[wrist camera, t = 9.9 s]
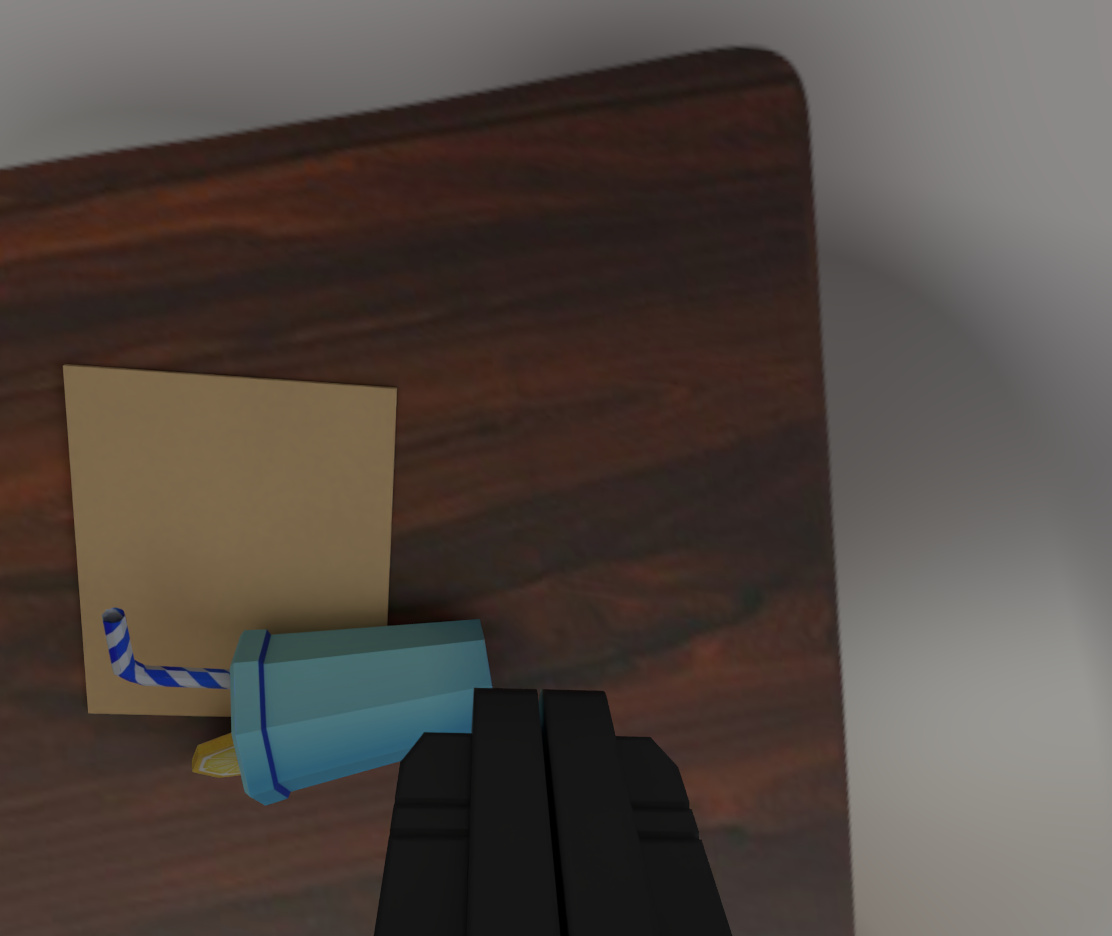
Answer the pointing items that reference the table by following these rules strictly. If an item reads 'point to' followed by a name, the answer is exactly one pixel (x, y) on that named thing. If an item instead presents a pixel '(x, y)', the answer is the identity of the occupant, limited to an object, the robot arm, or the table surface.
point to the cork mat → (223, 518)
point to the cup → (325, 698)
